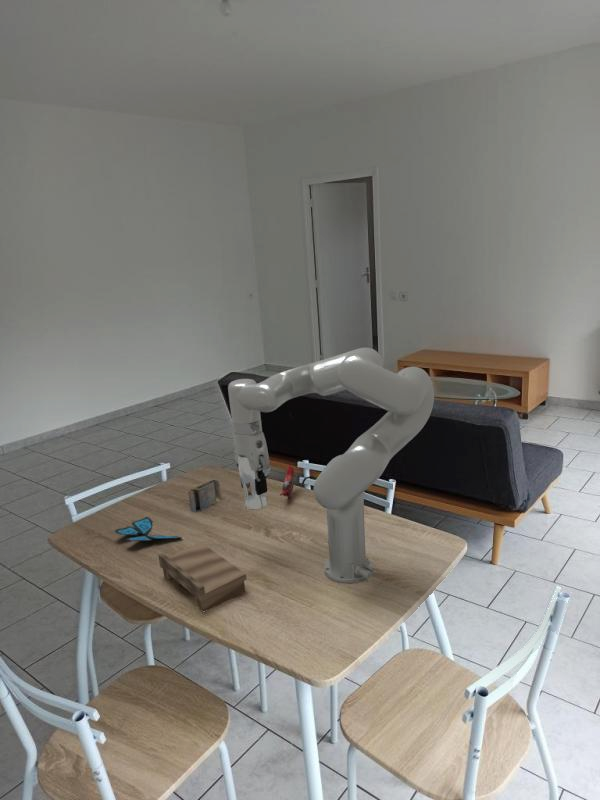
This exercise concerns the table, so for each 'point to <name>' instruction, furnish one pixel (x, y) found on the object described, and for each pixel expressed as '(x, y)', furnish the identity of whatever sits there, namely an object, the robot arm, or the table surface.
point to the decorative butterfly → (141, 530)
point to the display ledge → (204, 575)
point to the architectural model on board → (204, 495)
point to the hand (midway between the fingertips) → (254, 489)
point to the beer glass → (250, 485)
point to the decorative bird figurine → (288, 483)
